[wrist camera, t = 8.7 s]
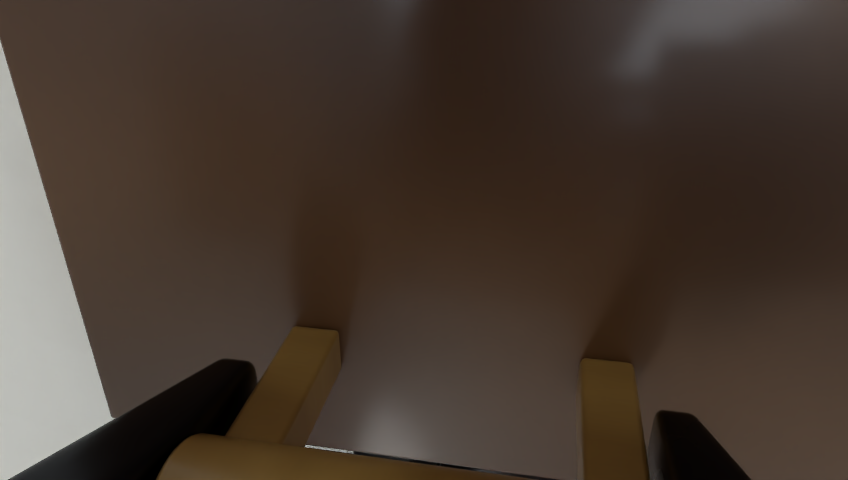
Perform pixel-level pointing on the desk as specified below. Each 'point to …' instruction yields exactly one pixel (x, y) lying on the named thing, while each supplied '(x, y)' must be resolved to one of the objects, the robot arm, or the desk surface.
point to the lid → (456, 225)
